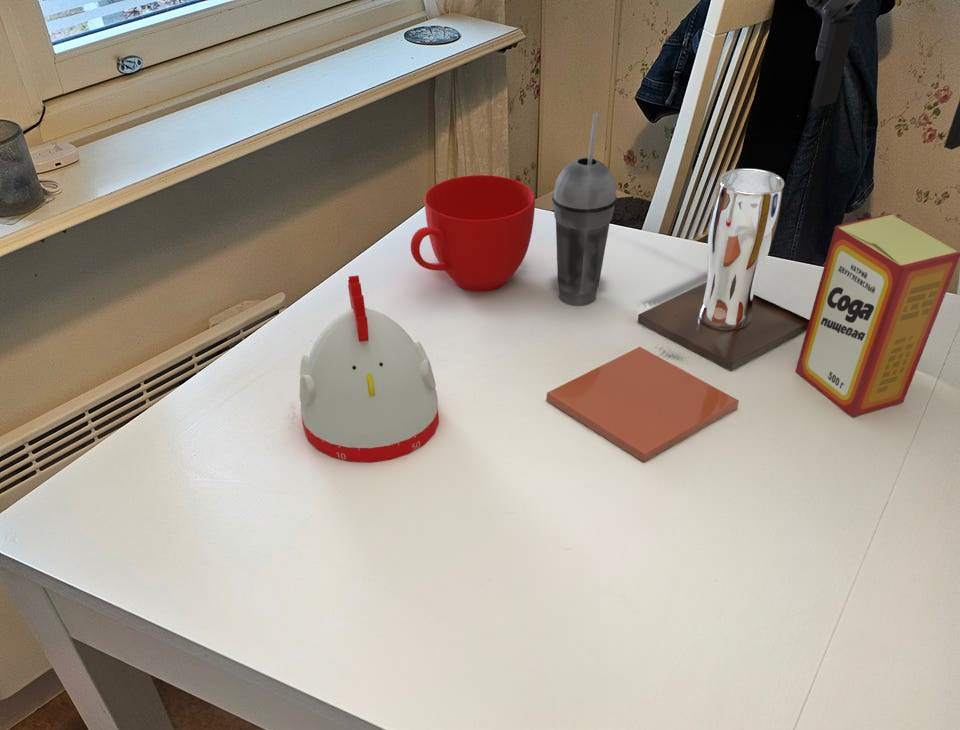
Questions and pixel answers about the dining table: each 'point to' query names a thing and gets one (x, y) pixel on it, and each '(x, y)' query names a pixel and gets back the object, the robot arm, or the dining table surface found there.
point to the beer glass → (739, 244)
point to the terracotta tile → (642, 403)
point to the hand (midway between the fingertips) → (887, 123)
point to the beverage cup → (582, 224)
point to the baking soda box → (874, 312)
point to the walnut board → (723, 345)
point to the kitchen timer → (367, 387)
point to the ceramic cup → (477, 229)
